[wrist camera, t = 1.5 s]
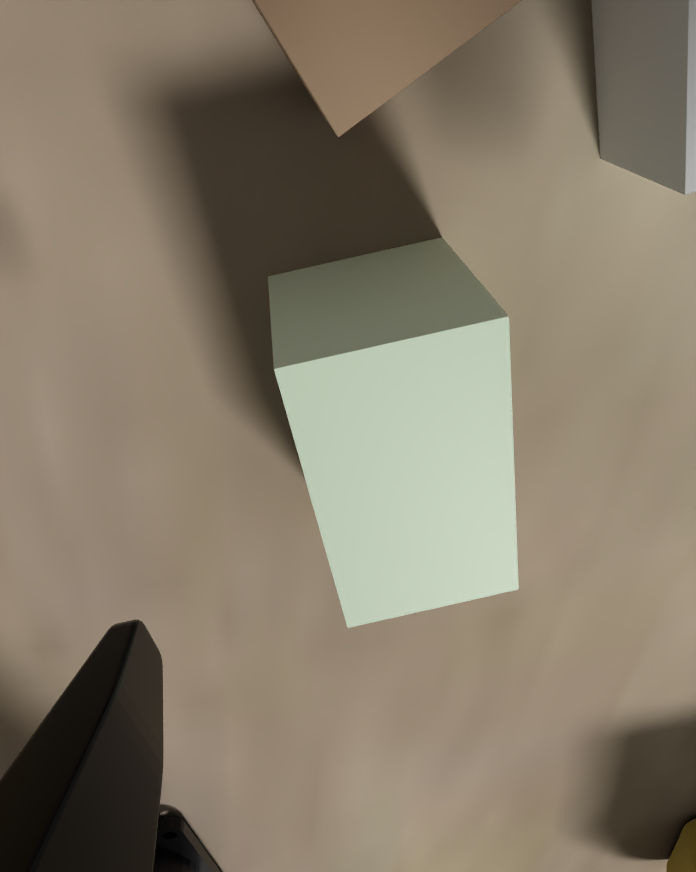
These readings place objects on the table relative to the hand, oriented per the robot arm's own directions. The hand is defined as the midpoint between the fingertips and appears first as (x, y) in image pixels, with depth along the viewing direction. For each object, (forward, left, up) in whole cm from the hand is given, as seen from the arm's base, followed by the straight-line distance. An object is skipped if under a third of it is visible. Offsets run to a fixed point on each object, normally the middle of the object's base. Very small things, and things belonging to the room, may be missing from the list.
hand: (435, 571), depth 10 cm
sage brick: (0, 0, -6) cm, 6 cm away
